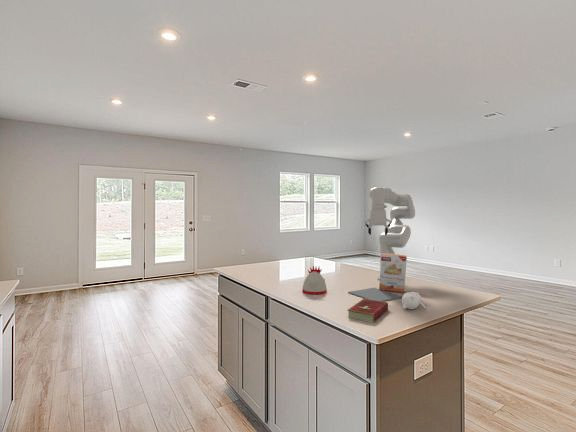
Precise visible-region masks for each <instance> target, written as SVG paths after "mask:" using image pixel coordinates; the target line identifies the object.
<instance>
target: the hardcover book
mask: <svg viewBox="0 0 576 432" xmlns="http://www.w3.org/2000/svg"><path fill="white" fill-rule="evenodd" d="M388 310H389V302H388V301H384V302H383V301H377V300H371V299H364V298H362V299H361V300H360V301H358V302H357V303H355V304H354V305H352V306H350V307H349V308H347V312H348V318H349V317H350V319H354V318H355V320H359V319H360V320H359V321H364V320H365V322H369V321H371V322H370V323H373V322H374V323H375V322H376V321H377V320H379V318H380V317H381V316H382V315H384V314H385V313H386V312H387V311H388Z"/></svg>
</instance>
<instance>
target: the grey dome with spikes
mask: <svg viewBox="0 0 576 432" xmlns="http://www.w3.org/2000/svg"><path fill="white" fill-rule="evenodd" d="M309 269H310V270H309ZM309 269H307V275H306V277H305V279H304V281H303V284H302V293H304V294H305V293H306V295H310V296H311V295H313V296H317V295H318V296H319V295H324V294H326V293H327V289H328V288H327V285H326V284H327V283H326V279H325V277H324V276H323V275H322V274H321V272H322V270H323V269H322V268H320V266H318V268H317V266H315V267H314V265H312V267H310V268H309Z"/></svg>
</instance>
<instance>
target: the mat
mask: <svg viewBox="0 0 576 432" xmlns="http://www.w3.org/2000/svg"><path fill="white" fill-rule="evenodd" d="M347 293H348V294H350V295H353V296H356V297H359V298H362V299H371V300H377V301H383V302H388V301H394V300H398V299H402V297H403V295H400V294H397V293H394V292H392V291H388V290H380V289H379V288H377V287H370V288H363V289H357V290H351V291H348V292H347Z"/></svg>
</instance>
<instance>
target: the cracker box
mask: <svg viewBox="0 0 576 432" xmlns="http://www.w3.org/2000/svg"><path fill="white" fill-rule="evenodd" d="M407 257H408V256H407V255H404V254H397V253H395V254H385V253H382V254H381V269H380V268H379V270H380V271H379V276H380V280H379V284H378V285H379V287H378V289H380V290H384V291H387V292H397V293H405V289H406V288H405V287H406V285H405V284H406V273H407Z"/></svg>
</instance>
